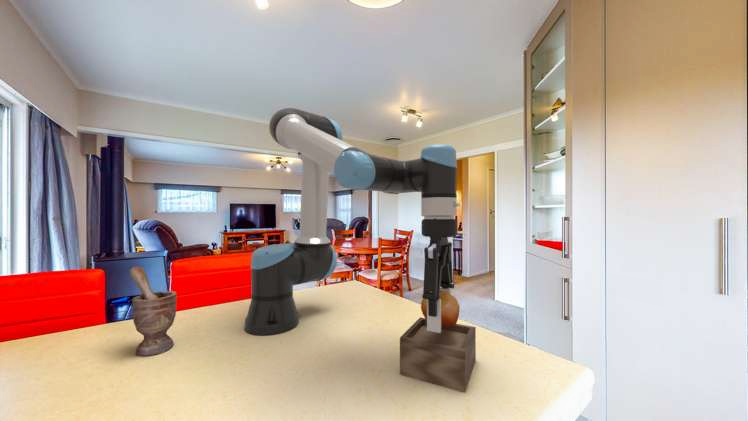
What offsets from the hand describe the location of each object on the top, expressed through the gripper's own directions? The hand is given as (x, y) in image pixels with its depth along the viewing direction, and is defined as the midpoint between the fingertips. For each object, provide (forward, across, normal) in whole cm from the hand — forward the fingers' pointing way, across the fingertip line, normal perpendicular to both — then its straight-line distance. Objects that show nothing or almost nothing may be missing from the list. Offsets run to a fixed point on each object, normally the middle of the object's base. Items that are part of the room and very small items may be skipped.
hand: (439, 323), depth 62 cm
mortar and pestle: (+9, -24, +65) cm, 70 cm away
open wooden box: (+9, 0, 0) cm, 9 cm away
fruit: (+1, 0, 0) cm, 1 cm away
